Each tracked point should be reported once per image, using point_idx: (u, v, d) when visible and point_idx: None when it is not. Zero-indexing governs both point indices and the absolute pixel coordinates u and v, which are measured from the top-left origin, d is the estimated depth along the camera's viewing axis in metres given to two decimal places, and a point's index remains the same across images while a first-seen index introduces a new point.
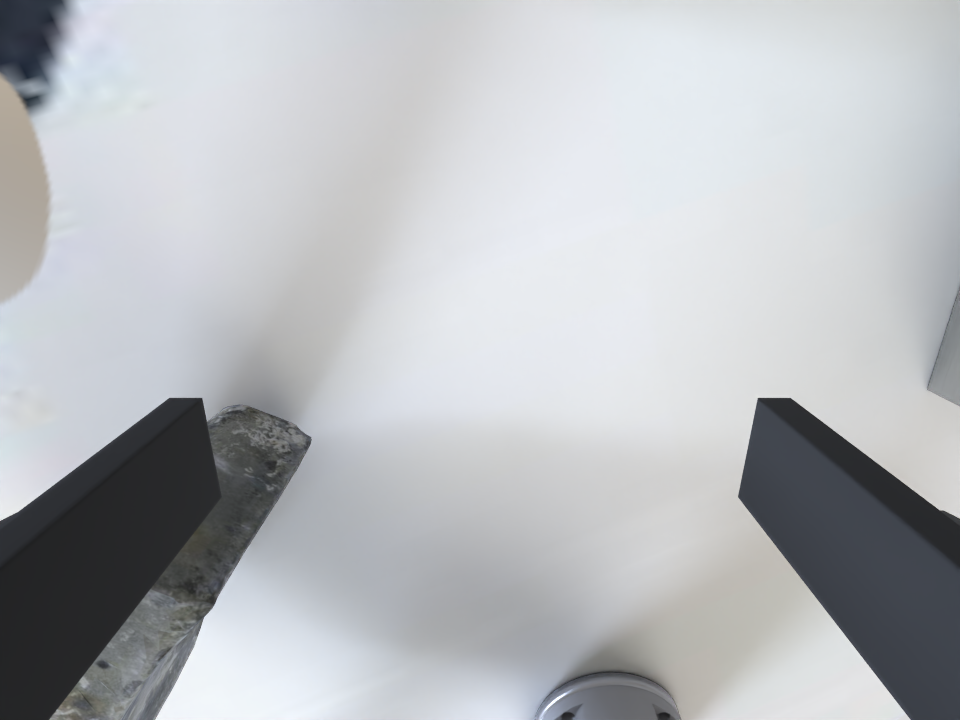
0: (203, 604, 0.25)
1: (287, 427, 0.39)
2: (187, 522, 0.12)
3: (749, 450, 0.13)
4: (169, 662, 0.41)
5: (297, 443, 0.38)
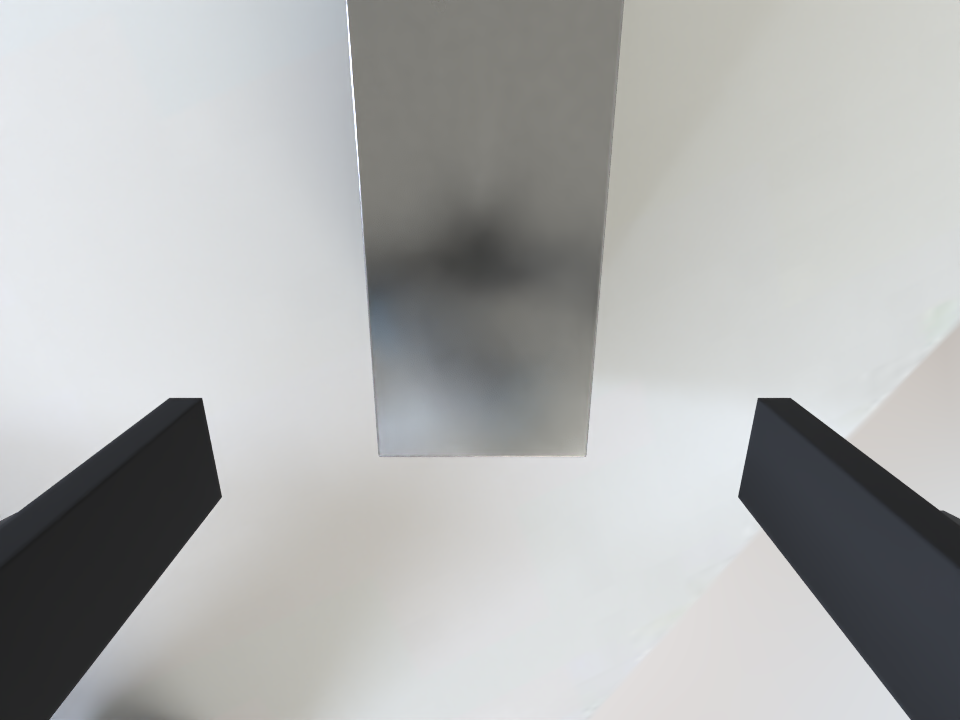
0: None
1: None
2: (187, 522, 0.12)
3: (749, 450, 0.13)
4: None
5: None
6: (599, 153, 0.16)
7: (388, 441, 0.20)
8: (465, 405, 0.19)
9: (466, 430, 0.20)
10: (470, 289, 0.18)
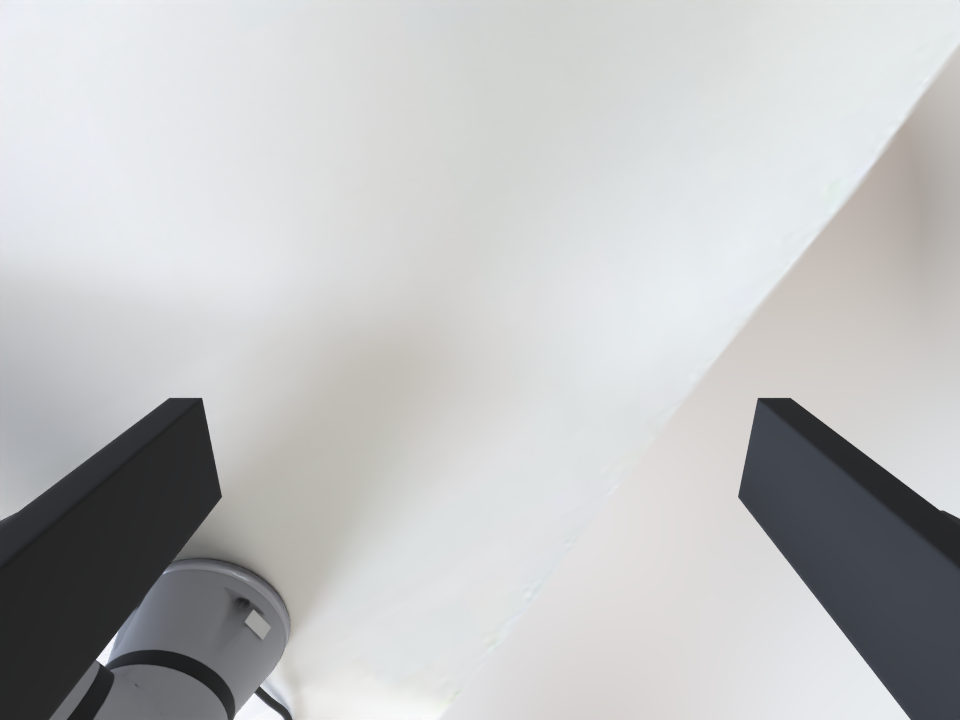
0: None
1: None
2: (187, 523, 0.12)
3: (749, 450, 0.13)
4: None
5: None
6: None
7: None
8: None
9: None
10: None
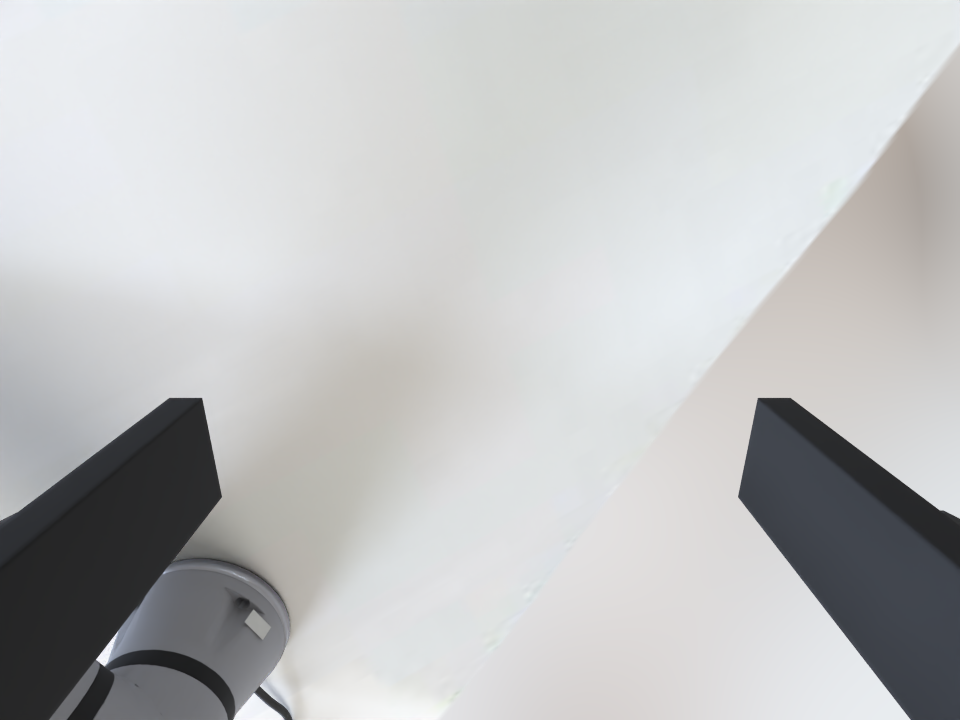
0: None
1: None
2: (187, 523, 0.12)
3: (749, 450, 0.13)
4: None
5: None
6: None
7: None
8: None
9: None
10: None
